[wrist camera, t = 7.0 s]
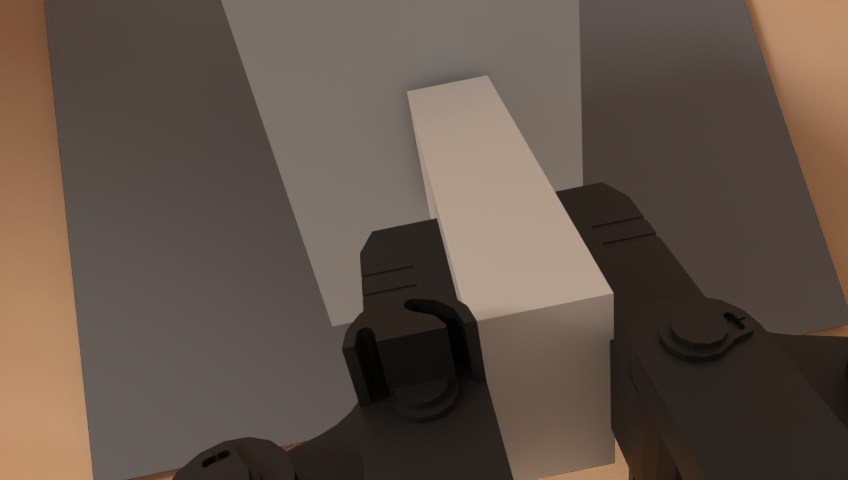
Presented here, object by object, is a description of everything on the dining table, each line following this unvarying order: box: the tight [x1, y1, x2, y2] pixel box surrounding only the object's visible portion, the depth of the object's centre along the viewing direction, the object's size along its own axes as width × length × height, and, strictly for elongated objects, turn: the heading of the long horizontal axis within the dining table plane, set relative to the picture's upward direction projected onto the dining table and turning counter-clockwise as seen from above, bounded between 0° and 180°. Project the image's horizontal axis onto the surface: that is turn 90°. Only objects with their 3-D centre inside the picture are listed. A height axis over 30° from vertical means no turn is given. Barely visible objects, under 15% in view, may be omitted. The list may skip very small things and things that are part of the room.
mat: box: [44, 0, 848, 480], centre depth 21 cm, size 22×18×1 cm
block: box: [221, 0, 583, 327], centre depth 15 cm, size 6×6×9 cm
